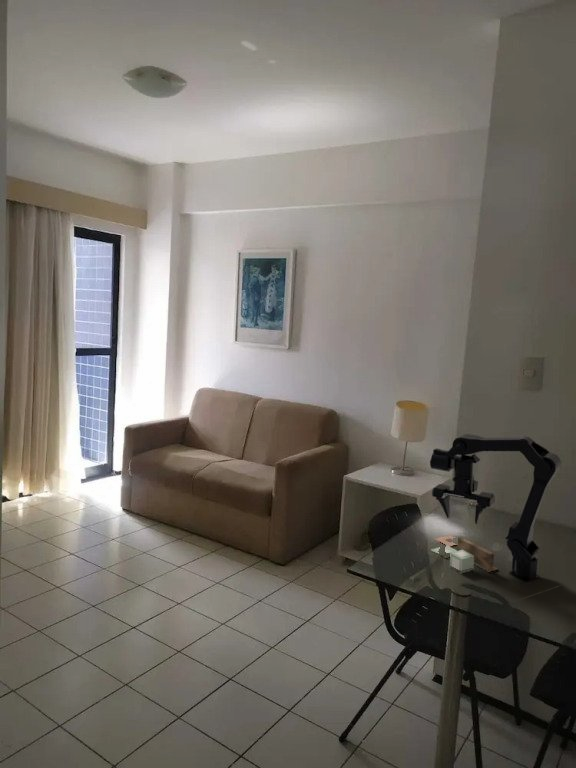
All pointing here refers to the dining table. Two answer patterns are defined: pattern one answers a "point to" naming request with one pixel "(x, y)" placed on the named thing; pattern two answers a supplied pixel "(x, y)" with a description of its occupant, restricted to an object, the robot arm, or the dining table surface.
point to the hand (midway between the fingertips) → (462, 520)
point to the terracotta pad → (446, 540)
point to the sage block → (461, 560)
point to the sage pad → (447, 549)
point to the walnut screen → (477, 554)
